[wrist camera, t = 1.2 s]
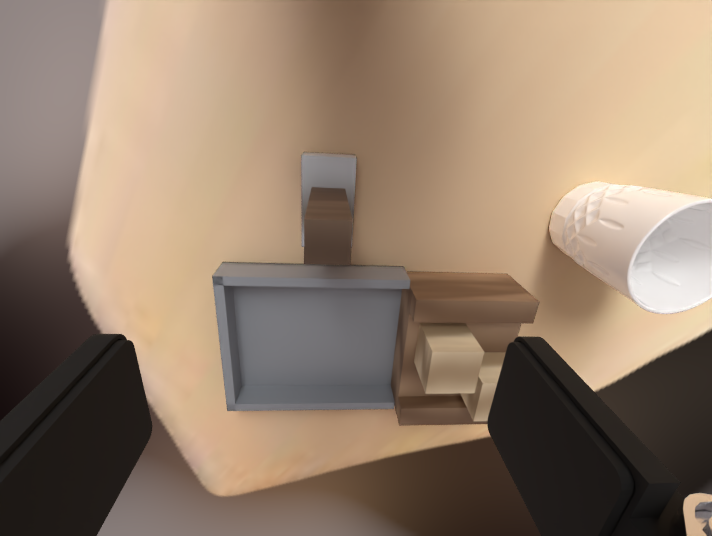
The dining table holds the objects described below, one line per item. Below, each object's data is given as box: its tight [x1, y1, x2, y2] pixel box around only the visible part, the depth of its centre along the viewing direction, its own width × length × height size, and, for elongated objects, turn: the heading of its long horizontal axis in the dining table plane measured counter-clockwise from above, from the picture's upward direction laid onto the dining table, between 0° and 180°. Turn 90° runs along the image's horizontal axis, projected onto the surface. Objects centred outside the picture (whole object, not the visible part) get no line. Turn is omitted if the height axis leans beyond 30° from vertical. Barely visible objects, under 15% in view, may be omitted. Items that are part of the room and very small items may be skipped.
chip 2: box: [460, 352, 506, 421], centre depth 31 cm, size 4×4×4 cm
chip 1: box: [414, 323, 484, 394], centre depth 29 cm, size 4×4×4 cm
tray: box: [212, 262, 410, 411], centre depth 33 cm, size 14×16×3 cm
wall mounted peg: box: [301, 152, 357, 265], centre depth 24 cm, size 7×4×12 cm, turn 177°
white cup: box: [549, 181, 712, 314], centre depth 27 cm, size 8×8×10 cm
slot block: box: [391, 272, 539, 425], centre depth 33 cm, size 13×10×6 cm
